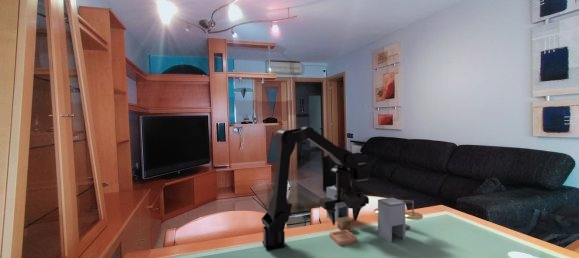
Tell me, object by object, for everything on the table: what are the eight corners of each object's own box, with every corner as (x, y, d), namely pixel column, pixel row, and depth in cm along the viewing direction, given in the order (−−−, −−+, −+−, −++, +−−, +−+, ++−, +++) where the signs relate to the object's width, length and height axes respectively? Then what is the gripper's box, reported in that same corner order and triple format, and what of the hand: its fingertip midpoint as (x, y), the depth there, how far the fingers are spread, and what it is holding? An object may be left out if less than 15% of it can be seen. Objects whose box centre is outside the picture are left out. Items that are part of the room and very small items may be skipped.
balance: (412, 240, 95) (412, 204, 94) (370, 216, 117) (370, 187, 117) (426, 237, 97) (427, 202, 96) (383, 214, 120) (383, 186, 119)
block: (342, 232, 103) (342, 221, 103) (337, 228, 107) (337, 218, 107) (352, 230, 104) (351, 220, 104) (346, 226, 108) (346, 216, 108)
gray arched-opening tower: (389, 242, 94) (389, 205, 93) (378, 234, 100) (377, 199, 99) (405, 239, 96) (405, 202, 95) (392, 231, 102) (392, 197, 101)
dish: (339, 245, 92) (339, 241, 92) (329, 236, 99) (329, 232, 99) (357, 242, 95) (357, 237, 95) (346, 233, 101) (346, 229, 101)
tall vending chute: (337, 222, 112) (337, 190, 112) (326, 217, 118) (326, 187, 117) (348, 218, 116) (348, 188, 115) (337, 213, 121) (337, 184, 121)
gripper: (332, 191, 94) (332, 235, 95) (377, 185, 100) (378, 227, 101) (318, 183, 104) (318, 223, 105) (360, 178, 110) (360, 216, 111)
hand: (344, 222), depth 105 cm, fingers open, 9 cm apart
